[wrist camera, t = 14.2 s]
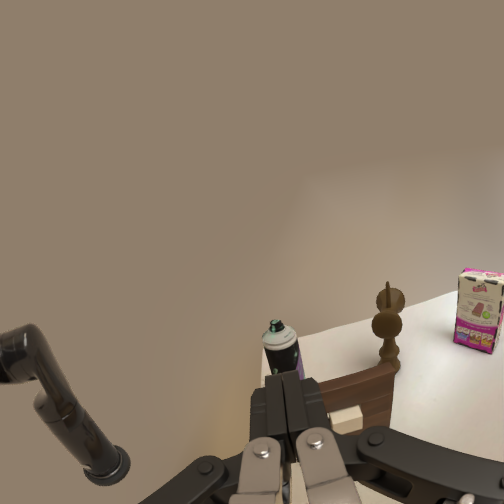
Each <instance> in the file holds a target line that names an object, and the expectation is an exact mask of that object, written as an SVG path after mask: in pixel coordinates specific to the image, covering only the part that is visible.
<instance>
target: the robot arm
mask: <svg viewBox="0 0 504 504" xmlns="http://www.w3.org/2000/svg"><path fill="white" fill-rule="evenodd" d="M282 376H283V378H282ZM34 380H39V381H40V383H41V385H42V387H43V388H42V389H41V390H40V391H39V392H38V393H37V394H36V396H35V398H34V400H33V408H34V410H35V412H36V413H37V415H38V416H39V417H40V419H41V420H42V421H43V422H44V424H45V425H46V426H47V428H48V429H49V430H50V431H51V432H52V434H53V435H54V436H55V437H56V438H57V439H58V441H59V442H60V443H61V444H62V445H63V446H64V447H65V449H66V450H67V451H68V452H69V453H70V454H71V455H72V456H73V457H74V458H75V459H76V460H77V461H78V462H79V463H80V465H81V466H82V467H84V468H85V469H86V470H87V471H88V473H89V474H90V475H91V476H93V477H94V478H97V479H108V478H110V477H112V476H114V475H115V474H117V473H118V472H119V470H120V469H121V467H122V464H123V457H122V455H121V453H120V452H119V451H118V450H117V449H116V448H115V447H114V446H113V445H112V443H111V442H110V441H109V440H108V439H107V437H106V436H105V435H104V434H103V432H102V431H101V430H100V429H99V427H98V426H97V425H96V423H95V422H94V421H93V419H92V418H91V417H90V415H89V414H88V413H87V411H86V410H85V409H84V407H83V406H82V404H81V403H80V402H79V400H78V399H77V397H76V396H75V394H74V393H73V391H72V389H71V387H70V385H69V382H68V380H67V378H66V376H65V374H64V373H63V371H62V369H61V367H60V365H59V363H58V361H57V359H56V357H55V355H54V353H53V351H52V349H51V347H50V344H49V342H48V340H47V339H46V337H45V335H44V333H43V332H42V330H41V329H40V328H39V327H38V326H37V325H35V324H33V323H27V324H24V325H21V326H19V327H16V328H14V329H11V330H8V331H5V332H3V333H0V385H18V384H24V383H28V382H31V381H34ZM250 413H251V415H250V440H249V443H248V444H247V445H246V446H245V448H244V451H242V452H241V453H240V454H238V455H236V456H233V457H230V458H228V459H224V460H221V459H220V458H217V457H215V456H203V457H200V458H198V459H196V460H195V461H193V462H192V463H191V464H190V465H189V466H187V467H186V468H185V469H184V470H183V471H181V472H180V473H179V474H178V475H176V476H175V477H174V478H173V479H171V480H170V481H169V482H167V483H166V484H165V485H163V486H162V487H161V488H160V489H158V490H157V491H155V492H154V493H153V494H151V495H150V496H148V497H147V498H146V499H144V500H143V501H141V502H140V503H138V504H292V477H291V463H296V457H297V461H298V462H300V465H301V469H302V473H303V478H304V482H305V486H306V492H307V497H308V501H309V504H362V502H361V500H360V497H359V494H358V492H357V489H356V486H355V484H354V481H358V482H359V483H361V484H362V485H364V486H366V487H368V488H370V489H372V490H374V491H377V492H379V493H381V494H383V495H385V496H387V497H390V498H392V499H394V500H396V501H399V502H401V503H404V504H504V462H499V461H494V460H490V459H485V458H481V457H477V456H473V455H469V454H465V453H462V452H458V451H455V450H451V449H448V448H445V447H441V446H438V445H435V444H432V443H429V442H426V441H423V440H420V439H417V438H415V437H412V436H409V435H406V434H404V433H401V432H398V431H396V430H393V429H391V428H388V427H385V426H373V427H369V428H367V429H365V430H364V431H363V432H362V433H361V434H360V435H342V434H339V433H336V432H335V431H334V430H333V429H332V428H331V427H330V424H329V421H328V417H327V413H326V410H325V406H324V402H323V398H322V395H321V391H320V388H319V384H318V383H317V382H316V381H315V380H314V379H313V378H312V377H311V378H307V379H302V380H300V377H299V372H298V369H297V370H293V371H288V372H283V373H282V374H281V373H279V374H274V375H269V376H265V387H263V388H258V389H255V391H254V392H253V394H252V396H251V408H250ZM295 454H296V456H295Z"/></svg>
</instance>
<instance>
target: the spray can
mask: <svg viewBox="0 0 504 504" xmlns="http://www.w3.org/2000/svg"><path fill="white" fill-rule="evenodd" d="M270 324H271V326H270V328H269V329H268V330H267V331H266V332H265V333H264V334H263V336H262V339H263V345H264V349H265V352H266V356H267V359H268V363H269V366H270V370H271V373H272V375H274V374H279V373H281V374H282V373H283V372H288V371H293V370H297V369H298V372H299V377H300V380H302V379H305V374H304V369H303V364H302V359H301V354H300V349H299V344H298V339H297V335H296V333H295V330H294V328H292V327H291V326H285V325H284V324H283V323H281V320H272V321H271V322H270ZM282 378H283V376H282Z"/></svg>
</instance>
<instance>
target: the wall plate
mask: <svg viewBox="0 0 504 504" xmlns="http://www.w3.org/2000/svg"><path fill="white" fill-rule="evenodd" d="M394 378H395V370H394V368H393V366H392V365H391V363H390V362H387V363H384V364H381V365H378V366H375V367H372V368H369V369H366V370H363V371H360V372H357V373H353V374H350V375H346V376H343V377H339V378H336V379H332V380H328V381H324V382H320V383H318V384H319V388H320V391H321V395H322V398H323V402H324V406H325V410H326V413H329V412H333V411H337V410H340V409H344V408H347V407H351V406H354V405H357V404H358V405H359V408H360V410H361V413H362V415H363V427H362V429H359V430H356V431H352V432H349V433H345V434H342V435H360V434H361V433H362V432H363V431H364V430H365V429H367V428H369V427H373V426H385V427H388V428H389V426H390V419H391V411H392V402H393V391H394ZM327 417H328V416H327ZM328 421H329V424H330V418H328ZM330 427H331V425H330Z"/></svg>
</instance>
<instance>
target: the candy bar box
mask: <svg viewBox="0 0 504 504" xmlns="http://www.w3.org/2000/svg"><path fill="white" fill-rule="evenodd" d="M458 280H459V281H458V301H457V313H456V324H455V332H454V339H453V342H455V343H458V344H461V345H464V346H467V347H471V348H474V349H477V350H481V351H484V352H487V353H491V354H492V353H493V351H494V349H495V347H496V345H497V343H498V340H499V336H500V330H501V326H502V320H503V313H504V274H502V273H496V272H490V271H483V270H477V269H470V268H465V269H464V270H463V272H462V273H461V274H460V275H459V278H458Z"/></svg>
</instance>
